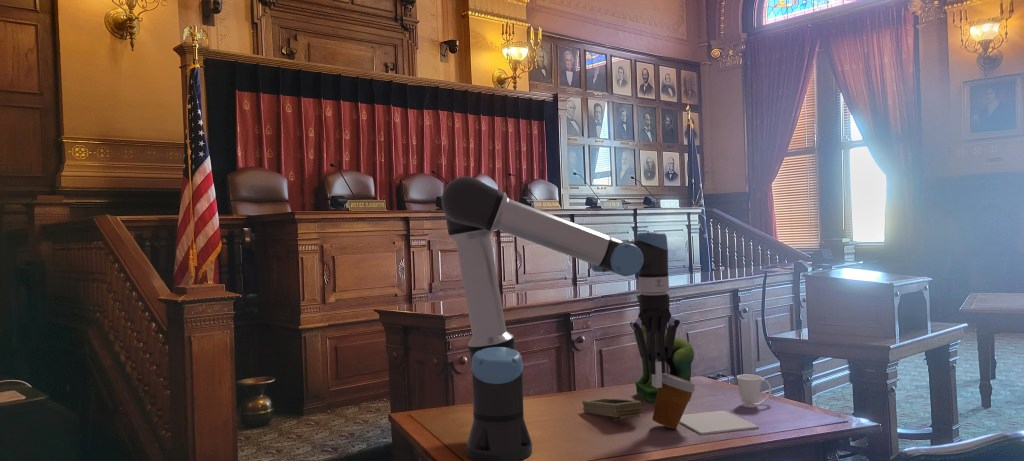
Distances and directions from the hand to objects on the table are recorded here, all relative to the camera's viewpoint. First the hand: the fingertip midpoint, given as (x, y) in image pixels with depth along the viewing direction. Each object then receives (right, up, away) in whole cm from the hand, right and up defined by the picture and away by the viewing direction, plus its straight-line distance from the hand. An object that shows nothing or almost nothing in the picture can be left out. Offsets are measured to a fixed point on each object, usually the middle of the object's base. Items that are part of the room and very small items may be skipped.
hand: (657, 386), depth 181 cm
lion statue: (+9, -10, +32) cm, 35 cm away
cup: (+32, -10, +21) cm, 39 cm away
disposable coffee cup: (+2, -10, +1) cm, 10 cm away
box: (-11, -11, +13) cm, 20 cm away
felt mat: (+15, -10, +4) cm, 19 cm away
